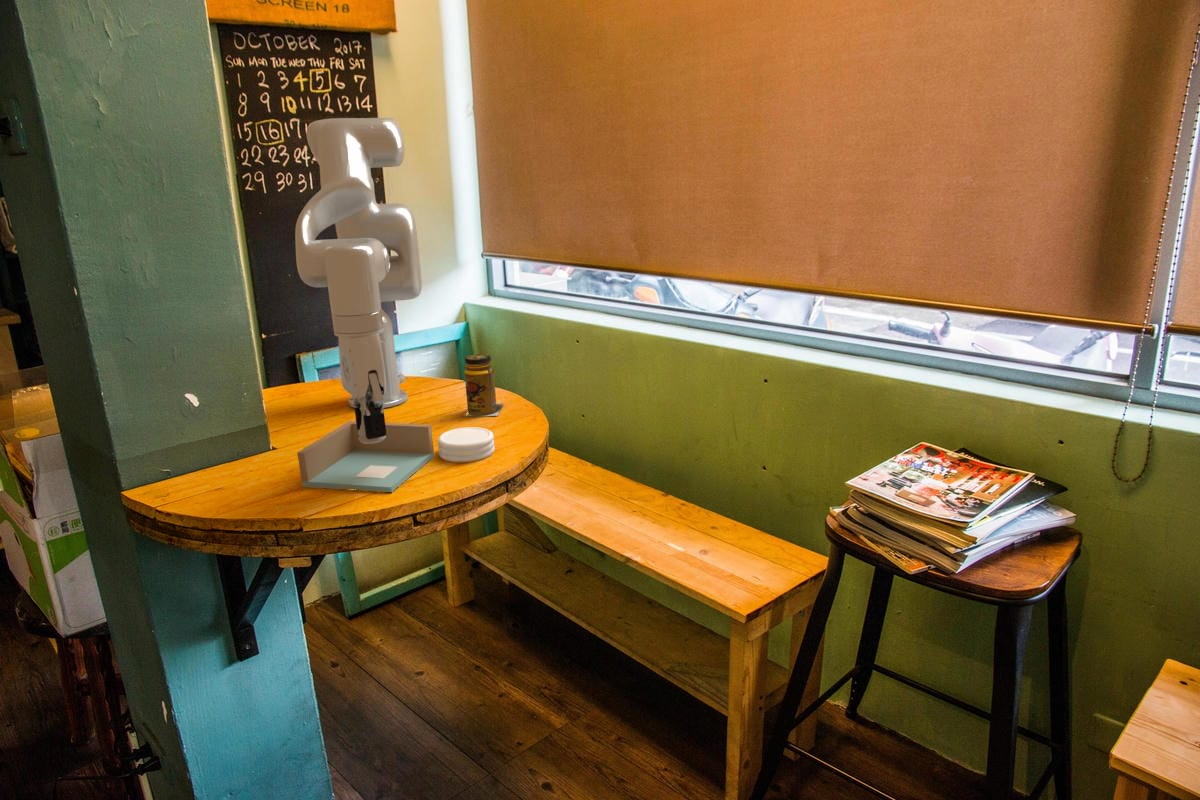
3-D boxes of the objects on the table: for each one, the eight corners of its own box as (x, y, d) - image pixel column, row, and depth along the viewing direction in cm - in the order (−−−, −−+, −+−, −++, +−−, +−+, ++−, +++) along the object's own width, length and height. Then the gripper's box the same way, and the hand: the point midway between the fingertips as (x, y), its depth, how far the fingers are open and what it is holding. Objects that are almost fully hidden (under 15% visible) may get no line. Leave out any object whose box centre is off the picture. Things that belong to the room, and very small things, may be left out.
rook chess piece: (374, 433, 131) (368, 388, 128) (392, 438, 128) (386, 391, 126) (352, 441, 127) (346, 394, 125) (370, 446, 125) (364, 398, 122)
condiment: (462, 417, 160) (457, 360, 156) (471, 405, 168) (466, 351, 164) (497, 416, 160) (493, 360, 156) (504, 404, 168) (500, 350, 164)
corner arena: (353, 452, 142) (349, 421, 140) (434, 456, 138) (431, 424, 137) (302, 486, 127) (297, 452, 125) (391, 493, 124) (387, 457, 122)
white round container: (442, 445, 145) (440, 427, 144) (496, 442, 145) (495, 424, 144) (435, 465, 135) (433, 446, 134) (493, 462, 136) (491, 443, 135)
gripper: (320, 318, 127) (335, 424, 132) (348, 335, 113) (363, 452, 119) (366, 313, 131) (379, 416, 136) (398, 328, 117) (411, 442, 122)
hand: (371, 432), depth 127 cm, fingers closed on rook chess piece, 4 cm apart
